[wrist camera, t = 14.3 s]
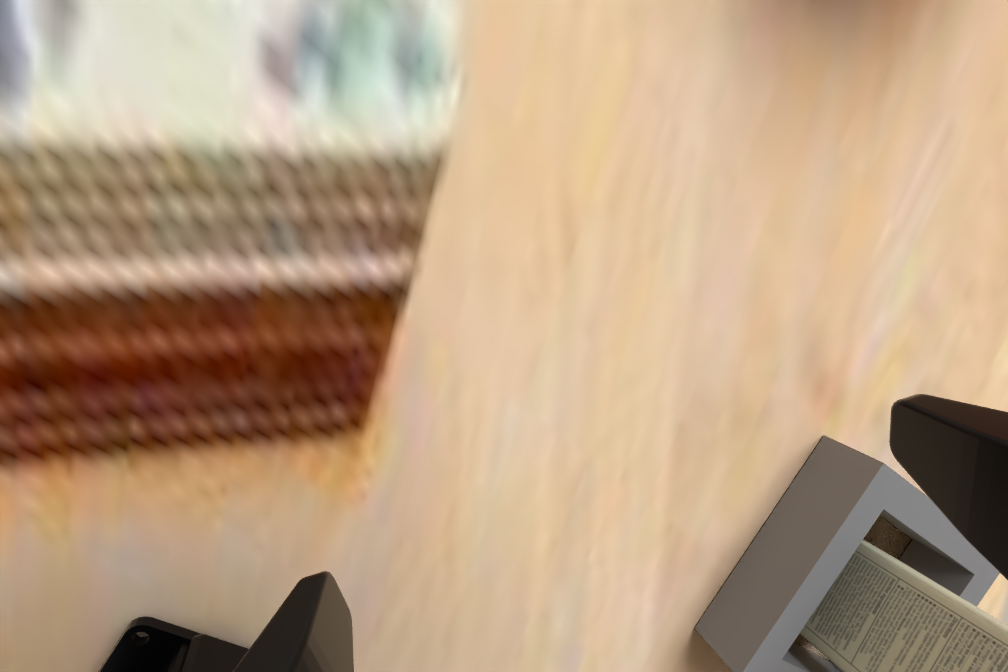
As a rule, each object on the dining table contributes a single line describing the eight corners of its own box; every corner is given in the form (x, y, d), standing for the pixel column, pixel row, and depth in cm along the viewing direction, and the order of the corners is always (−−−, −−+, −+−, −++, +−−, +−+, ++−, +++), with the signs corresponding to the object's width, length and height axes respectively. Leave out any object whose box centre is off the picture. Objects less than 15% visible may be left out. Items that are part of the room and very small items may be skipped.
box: (823, 631, 29) (1100, 869, 19) (766, 607, 27) (1033, 851, 17) (878, 541, 29) (1190, 731, 18) (824, 511, 27) (1130, 701, 17)
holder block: (830, 694, 30) (882, 744, 27) (694, 628, 26) (738, 678, 24) (944, 525, 30) (1009, 559, 27) (823, 435, 26) (883, 463, 23)
